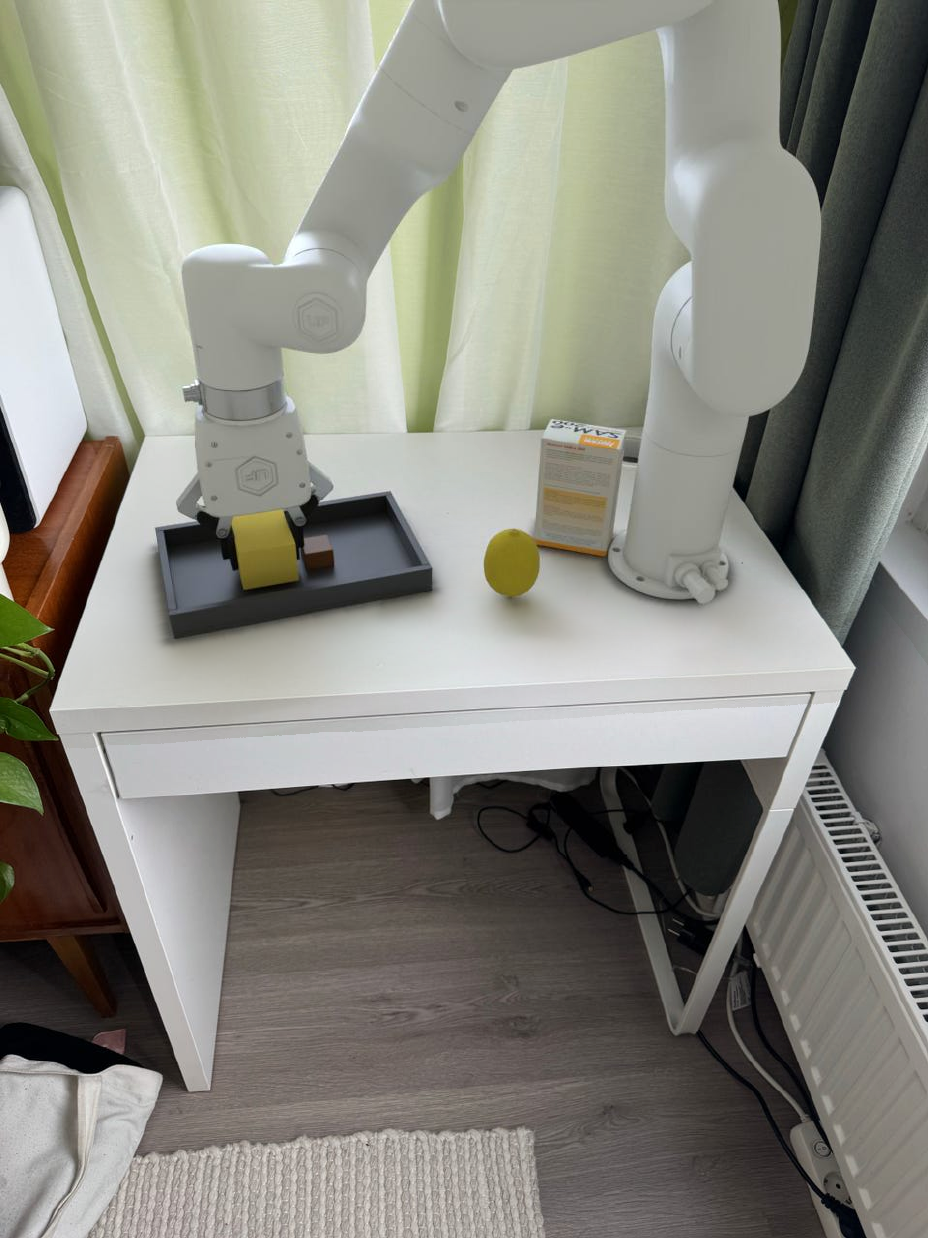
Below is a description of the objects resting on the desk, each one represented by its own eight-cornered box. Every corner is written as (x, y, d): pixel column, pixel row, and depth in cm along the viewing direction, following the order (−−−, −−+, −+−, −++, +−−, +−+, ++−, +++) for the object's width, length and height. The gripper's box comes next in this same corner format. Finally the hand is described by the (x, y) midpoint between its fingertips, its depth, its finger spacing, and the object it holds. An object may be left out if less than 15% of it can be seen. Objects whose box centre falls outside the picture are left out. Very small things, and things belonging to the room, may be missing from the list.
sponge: (299, 580, 93) (295, 543, 90) (243, 590, 92) (238, 552, 89) (284, 538, 99) (280, 501, 96) (232, 546, 97) (226, 509, 95)
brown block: (334, 565, 96) (333, 549, 95) (306, 570, 96) (304, 554, 94) (328, 549, 99) (327, 534, 97) (300, 554, 98) (298, 538, 97)
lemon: (521, 619, 91) (527, 552, 86) (472, 601, 93) (475, 535, 88) (545, 590, 95) (552, 524, 90) (498, 573, 97) (501, 508, 92)
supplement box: (613, 535, 103) (629, 428, 95) (606, 559, 100) (622, 450, 91) (541, 522, 105) (551, 416, 97) (531, 544, 101) (540, 436, 93)
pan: (432, 590, 94) (432, 568, 93) (174, 638, 88) (168, 615, 86) (391, 511, 106) (390, 490, 104) (159, 549, 99) (154, 527, 97)
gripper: (147, 423, 78) (182, 594, 90) (346, 399, 83) (355, 564, 94) (141, 386, 84) (174, 551, 95) (327, 365, 89) (338, 525, 100)
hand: (264, 556), depth 95 cm, fingers closed on sponge, 5 cm apart
